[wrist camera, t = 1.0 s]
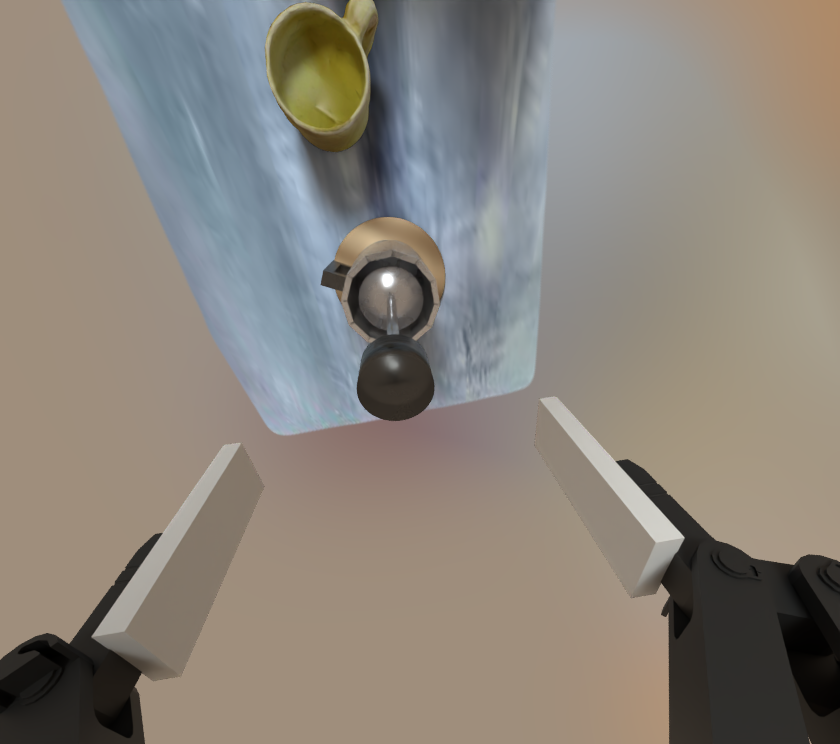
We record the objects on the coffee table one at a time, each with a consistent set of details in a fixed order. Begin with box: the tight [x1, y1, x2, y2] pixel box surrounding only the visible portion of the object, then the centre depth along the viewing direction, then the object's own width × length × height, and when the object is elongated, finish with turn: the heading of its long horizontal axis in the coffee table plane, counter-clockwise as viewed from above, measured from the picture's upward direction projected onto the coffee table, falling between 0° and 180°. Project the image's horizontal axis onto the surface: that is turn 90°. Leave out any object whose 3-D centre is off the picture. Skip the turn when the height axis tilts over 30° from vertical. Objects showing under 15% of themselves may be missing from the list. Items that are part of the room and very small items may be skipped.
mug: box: [265, 0, 378, 152], centre depth 31 cm, size 12×10×10 cm
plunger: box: [357, 265, 434, 421], centre depth 26 cm, size 7×7×20 cm
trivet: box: [334, 217, 445, 304], centre depth 44 cm, size 16×16×1 cm
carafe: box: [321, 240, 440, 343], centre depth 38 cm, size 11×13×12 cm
